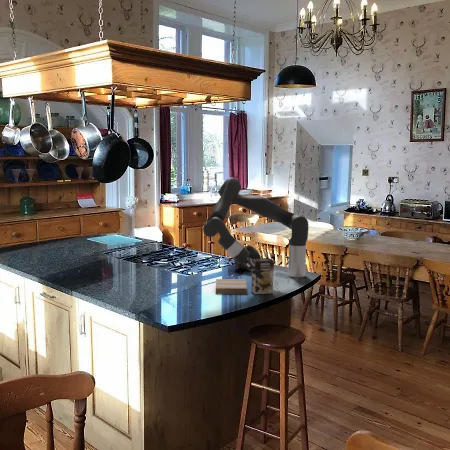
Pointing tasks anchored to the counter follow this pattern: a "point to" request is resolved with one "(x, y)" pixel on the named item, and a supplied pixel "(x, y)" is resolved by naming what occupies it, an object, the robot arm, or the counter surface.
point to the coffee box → (266, 270)
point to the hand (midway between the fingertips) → (261, 275)
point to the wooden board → (231, 286)
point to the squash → (253, 255)
